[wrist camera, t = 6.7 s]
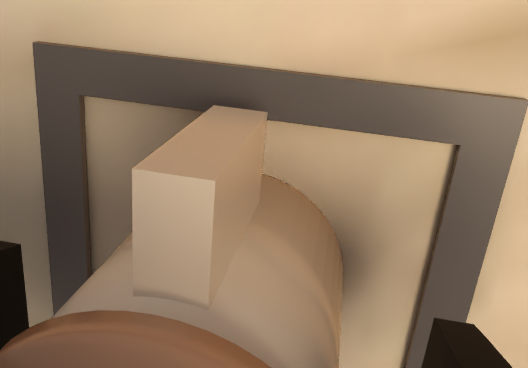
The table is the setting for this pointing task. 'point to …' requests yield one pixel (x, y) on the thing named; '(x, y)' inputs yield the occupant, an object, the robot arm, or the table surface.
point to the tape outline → (284, 110)
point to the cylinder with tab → (204, 268)
